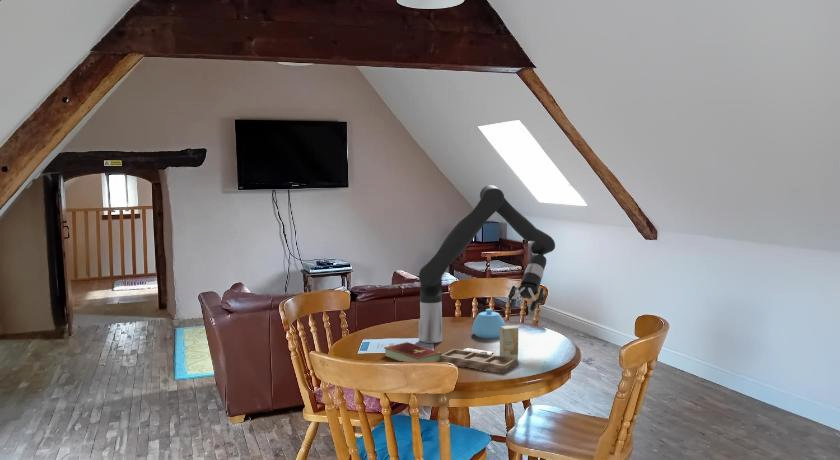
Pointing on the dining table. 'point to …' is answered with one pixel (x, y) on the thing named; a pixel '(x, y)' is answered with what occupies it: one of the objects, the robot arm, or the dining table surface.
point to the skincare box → (509, 341)
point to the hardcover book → (411, 352)
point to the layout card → (478, 351)
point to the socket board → (479, 360)
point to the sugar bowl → (488, 324)
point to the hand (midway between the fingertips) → (521, 309)
